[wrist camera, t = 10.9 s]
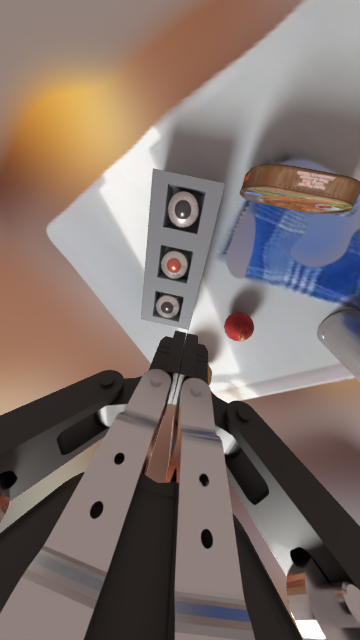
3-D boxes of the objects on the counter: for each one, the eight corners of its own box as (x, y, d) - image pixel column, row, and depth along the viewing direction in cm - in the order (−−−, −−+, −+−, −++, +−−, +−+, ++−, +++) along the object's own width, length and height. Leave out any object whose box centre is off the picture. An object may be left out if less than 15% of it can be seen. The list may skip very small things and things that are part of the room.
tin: (235, 198, 29) (245, 189, 22) (241, 174, 27) (254, 156, 20) (325, 216, 29) (366, 214, 21) (337, 193, 27) (386, 181, 20)
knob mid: (191, 251, 32) (189, 254, 28) (186, 274, 34) (184, 281, 30) (167, 246, 32) (162, 249, 28) (164, 270, 34) (159, 275, 30)
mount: (221, 190, 29) (225, 183, 23) (190, 316, 41) (188, 329, 35) (162, 178, 29) (152, 168, 24) (149, 306, 41) (140, 318, 36)
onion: (221, 309, 39) (224, 327, 32) (248, 304, 37) (257, 322, 30) (224, 330, 41) (228, 352, 34) (250, 326, 40) (259, 348, 33)
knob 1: (183, 292, 36) (180, 300, 32) (179, 311, 38) (176, 320, 34) (162, 287, 36) (157, 295, 32) (159, 306, 38) (154, 315, 34)
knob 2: (202, 198, 28) (201, 194, 24) (195, 229, 30) (194, 230, 26) (175, 192, 28) (170, 188, 24) (170, 223, 30) (165, 223, 26)
